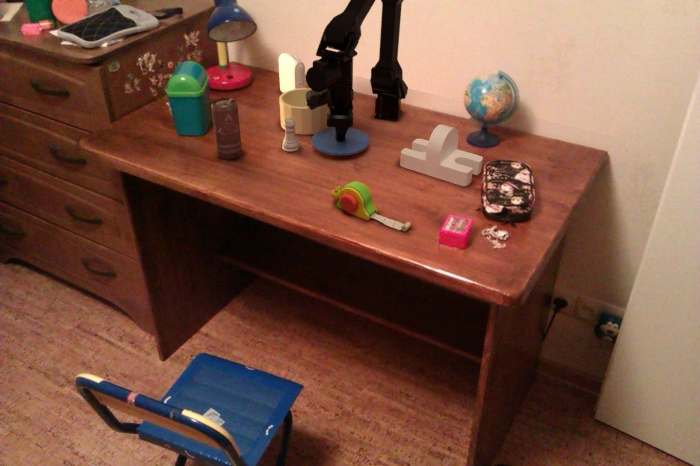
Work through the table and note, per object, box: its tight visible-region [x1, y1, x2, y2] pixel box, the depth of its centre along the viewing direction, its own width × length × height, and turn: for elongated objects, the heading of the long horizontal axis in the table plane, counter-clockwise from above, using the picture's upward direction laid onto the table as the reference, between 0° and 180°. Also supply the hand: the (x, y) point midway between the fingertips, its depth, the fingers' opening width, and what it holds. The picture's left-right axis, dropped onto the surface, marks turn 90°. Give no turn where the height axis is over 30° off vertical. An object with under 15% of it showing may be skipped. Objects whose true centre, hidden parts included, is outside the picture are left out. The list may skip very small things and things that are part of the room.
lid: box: [311, 127, 370, 156], centre depth 152 cm, size 15×15×6 cm
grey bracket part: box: [399, 123, 484, 187], centre depth 144 cm, size 10×18×11 cm, turn 56°
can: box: [211, 97, 243, 161], centre depth 147 cm, size 6×6×14 cm
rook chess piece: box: [281, 118, 300, 153], centre depth 152 cm, size 4×4×8 cm
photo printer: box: [278, 52, 307, 94], centre depth 179 cm, size 10×4×12 cm, turn 36°
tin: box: [278, 87, 330, 136], centre depth 164 cm, size 14×14×8 cm
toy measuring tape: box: [331, 181, 412, 233], centre depth 128 cm, size 6×20×7 cm, turn 55°
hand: (340, 137), depth 152 cm, fingers closed on lid, 2 cm apart
